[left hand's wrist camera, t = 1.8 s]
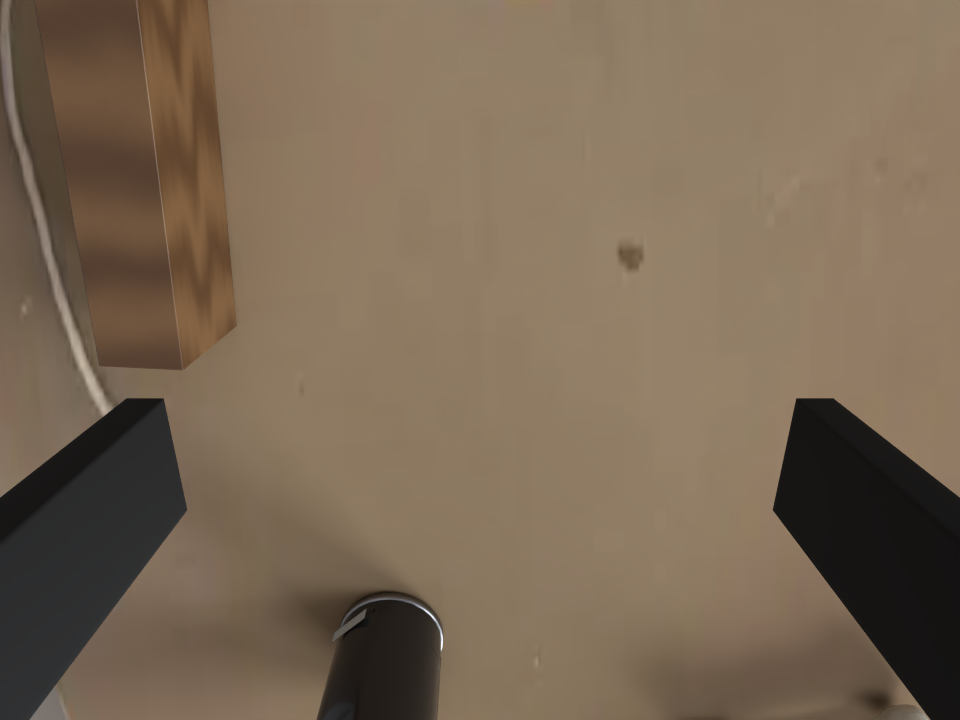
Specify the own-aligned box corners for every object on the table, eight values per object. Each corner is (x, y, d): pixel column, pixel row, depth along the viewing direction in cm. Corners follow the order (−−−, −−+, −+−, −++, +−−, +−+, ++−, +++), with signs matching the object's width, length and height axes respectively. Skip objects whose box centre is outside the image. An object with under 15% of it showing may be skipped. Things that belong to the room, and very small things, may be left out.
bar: (115, -81, 36) (7, -144, 28) (201, -75, 36) (119, -136, 28) (168, 322, 45) (98, 366, 37) (236, 326, 45) (183, 370, 37)
